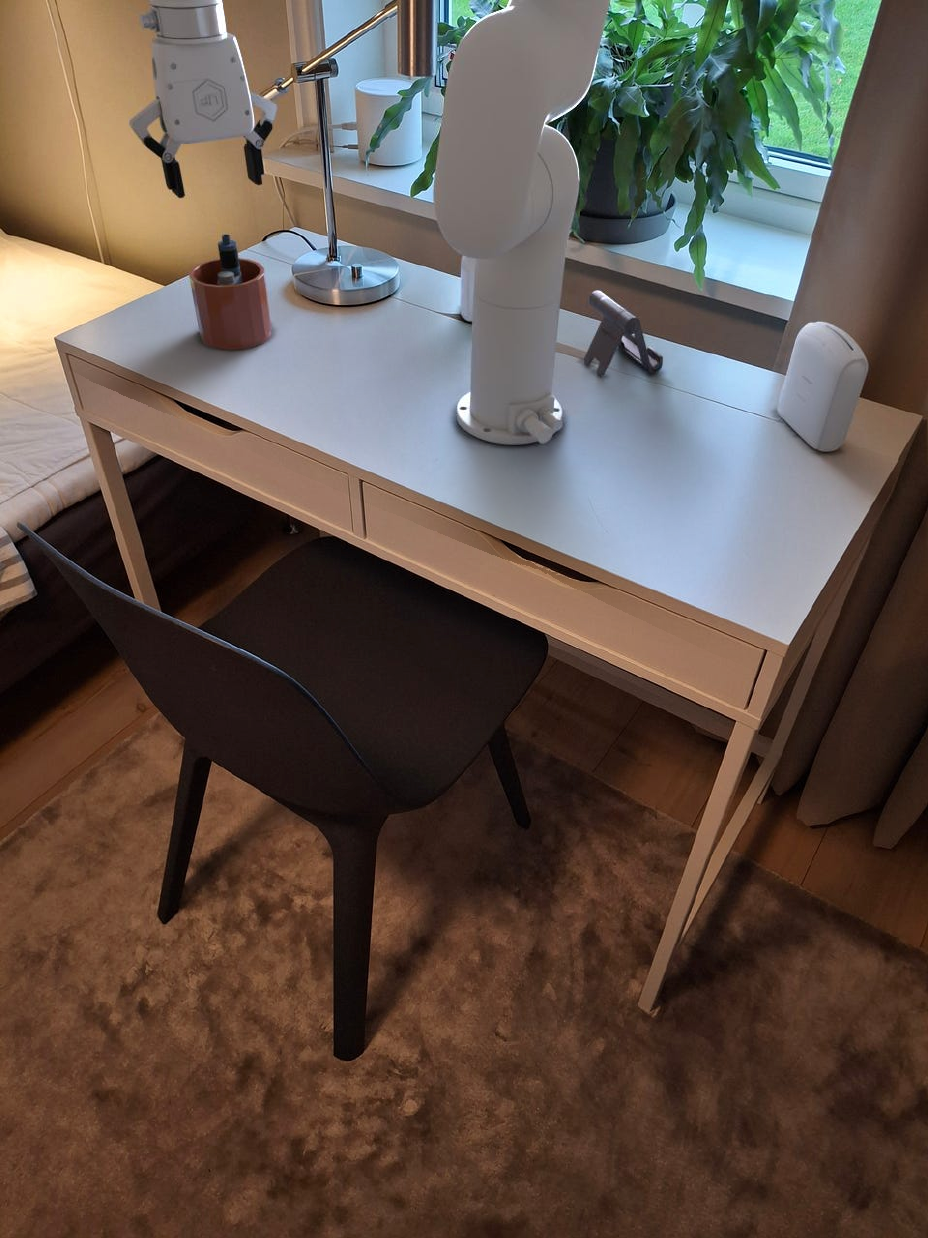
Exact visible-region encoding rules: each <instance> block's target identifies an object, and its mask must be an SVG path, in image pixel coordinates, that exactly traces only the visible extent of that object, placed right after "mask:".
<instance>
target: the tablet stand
mask: <svg viewBox="0 0 928 1238" xmlns="http://www.w3.org/2000/svg"><path fill="white" fill-rule="evenodd" d="M588 305H589V306H590V307H591V308H592V309H594V310H595V311H596V312H598V314H600V315H602V319H601V321H600V323H599V325H598V327H597V330H596V332H595V334H594V336H593V338H592V340H591V342H590V345H589V347H588V348H587V351H586V353H585V355H584V357H583V362H584V363H585V364H586V365H587V366H590V365H591V364H592V362H593V360H594V359H595V360H597V361H598V363H599V364H598V366H597V369H596V371H595V372H596V374H597V375H599V376H601V377H604V375H605V373H606V372H607V370H608V368H609V366H610V364H611V361H612V359H613V357H614V356H615V354H616V351H617V349H618V348H619V349H620V350H622V351H623V352H625V353H626V354H628V355H629V357H631V358H633V360H635V361H636V362H637V363H639V364H640V365H641V366H642V367H643V368H644V369H645V370H647V371H648V372H650V373H652V374H657V373H658V372H660V371H661V370H662V369H663V365H664V356H663V355H662V354H661V353H659V352H658V351H656V350H655V349H653V348H652V347H651V346H647V344H646V340H645V337H644V332H643V329H642V325H641V321H640V319H639V318H637V316H635V315H634V314H632V313H631V312H630V311H628V310H627V309H626V308H624V307H622V306H621V305H620V304H619V303H617V302H616V301H615V300H613V299H612V298H610V297H609V296H608V295H606V294H605V293H603V292H602V291H601V290H595V291H593V292H591V294H590V295H589V297H588Z"/></svg>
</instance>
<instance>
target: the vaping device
mask: <svg viewBox="0 0 928 1238" xmlns="http://www.w3.org/2000/svg"><path fill="white" fill-rule="evenodd" d="M217 248H218V255H219V259H220V261H221V262H222V263H221V268H222V272H219V273H218V279H219V280H218V282H217V284H218V286H225V285H236V284H241V283H242V276H241V272H240V265H239V258H240V257H239V251H238V244H237V242H236V241H235V240H234V239H233V240H232V238H231V235H230V234H222V235H221V241H218V242H217Z"/></svg>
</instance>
